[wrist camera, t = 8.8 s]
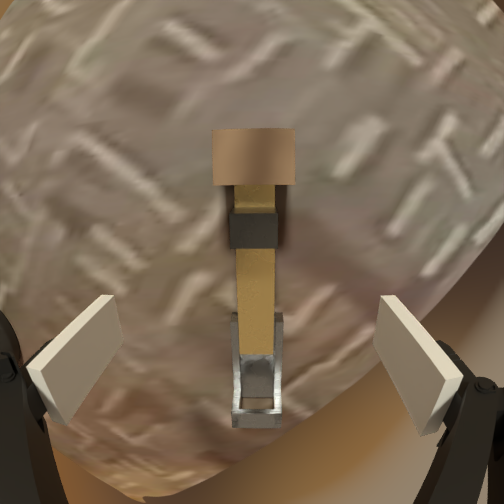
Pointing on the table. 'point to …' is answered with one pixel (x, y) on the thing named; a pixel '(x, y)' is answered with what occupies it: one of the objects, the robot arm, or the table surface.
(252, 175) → the socket
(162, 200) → the table surface
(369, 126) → the table surface
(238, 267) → the tan wooden bar
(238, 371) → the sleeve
